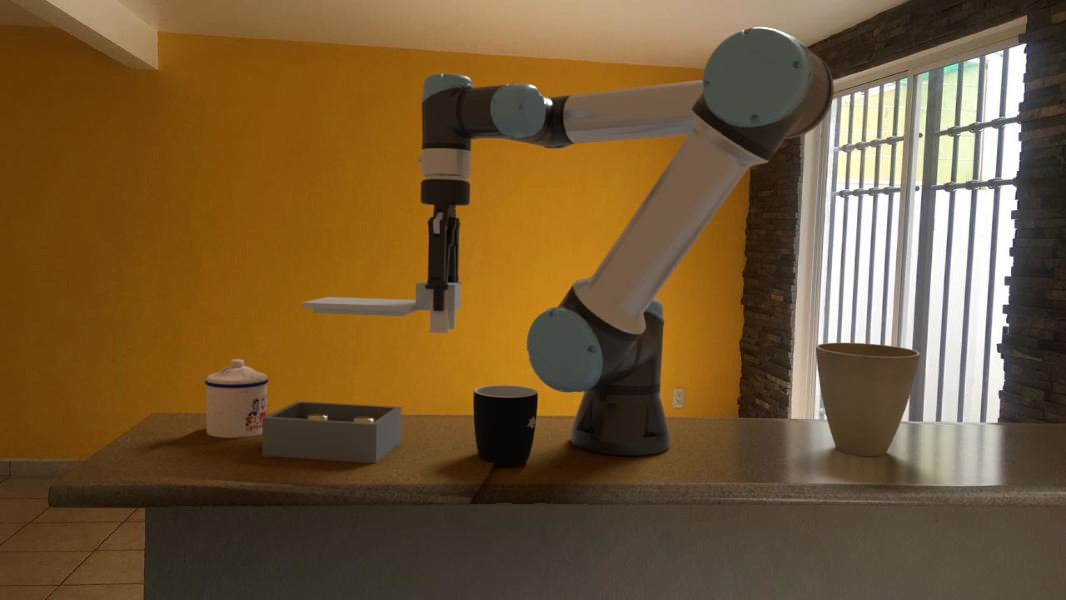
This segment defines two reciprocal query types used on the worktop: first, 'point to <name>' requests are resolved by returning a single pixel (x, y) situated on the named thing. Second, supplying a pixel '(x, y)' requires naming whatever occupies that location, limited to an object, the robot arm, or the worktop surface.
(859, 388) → the plant pot
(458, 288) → the lid
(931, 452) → the worktop surface
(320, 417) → the part
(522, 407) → the mug
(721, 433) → the worktop surface
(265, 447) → the tub
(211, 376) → the teacup with lid
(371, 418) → the part
